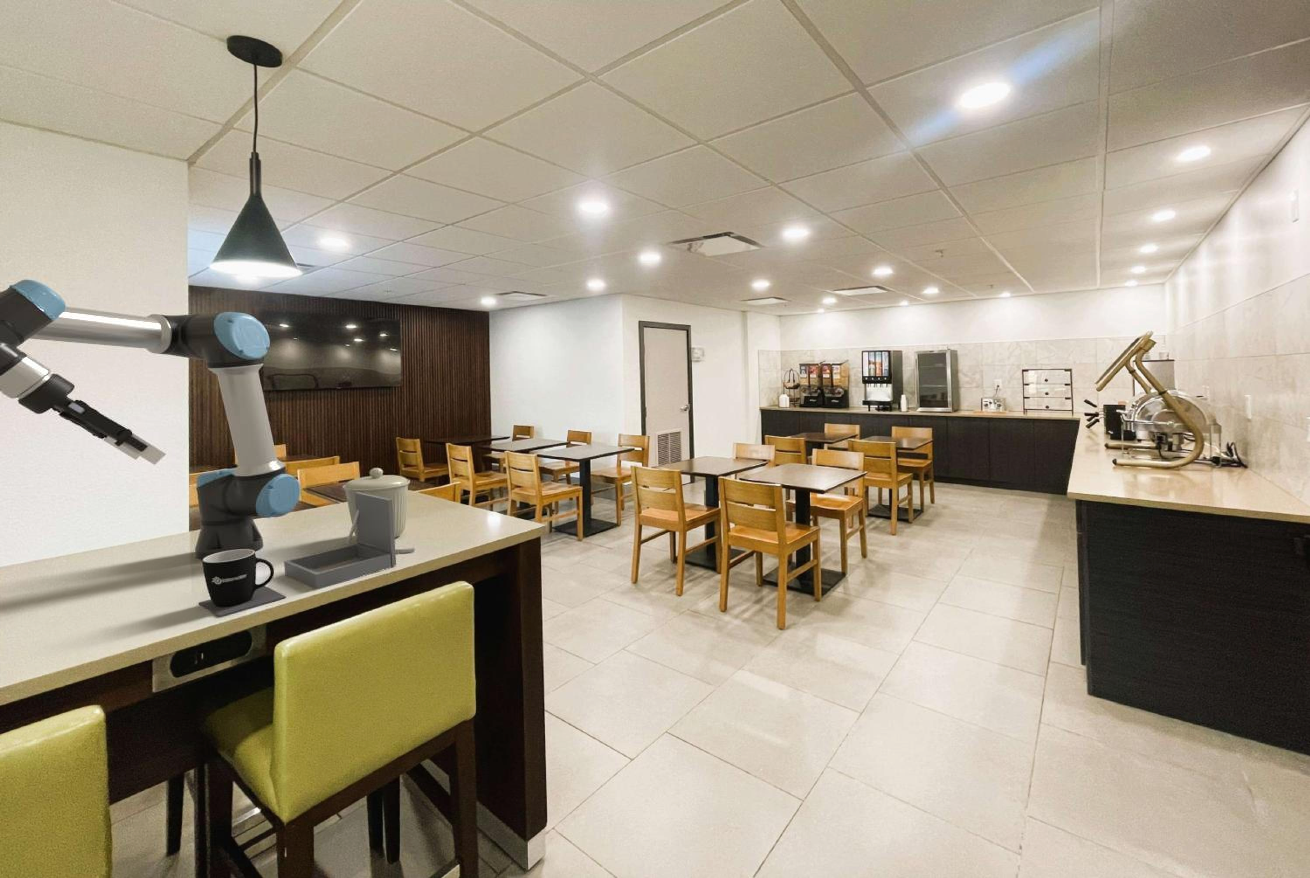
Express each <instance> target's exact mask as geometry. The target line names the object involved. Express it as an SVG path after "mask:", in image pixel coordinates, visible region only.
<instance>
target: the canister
mask: <svg viewBox="0 0 1310 878" xmlns="http://www.w3.org/2000/svg"><path fill="white" fill-rule="evenodd" d="M383 473H384V470H383V469H382V468H380V467H374V468H372V469H370V470H369V476H362V477H357V478H354V479H351V480H349V481H348V482H347V483H346V484H344V485H343V486H342V489H343V490H344V491H345V495H346V502H347V506H348V511H349V516H350V521H351V526H352V525H353V522H354V519H355V515H356V506H355V493H356V492H360V493H365V494H369V495H374V496H379V497H383V498H388V499H392V506H393V522H394V538H397V537H399V536H401V535H402V534H403V532H404V530H405V528H406V520H407V510H408V509H407V508H408V493H409V492H408V491H409V490H408V488H409V484H410V483H411V480H410V479H408V478H406V477H404V476H401V475H393V474H391V475H390V474H387V475H385V474H383ZM353 534H354V535H355V537H356V538H357V539H358V534H357V523H356V526H355V529H354V532H353Z"/></svg>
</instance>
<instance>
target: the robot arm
mask: <svg viewBox="0 0 1310 878" xmlns="http://www.w3.org/2000/svg"><path fill="white" fill-rule="evenodd" d="M265 327H266V326H264V325H263V323H262V322H261V321H260V320H258V319H257V318H256V317H254V316H253V315H251V314H247V313H244V312H235V311H234V312H233V311H225V312H212V313H211V312H210V313H192V314H191V313H190V314H181V315H180V314H179V315H178V314H176V315H175V314H173V315H171V314H170V315H164V314H158V313H153V314H149V315H147V316H141V315H134V314H132V315H131V314H125V313H116V312H112V311H111V312H110V311H103V310H97V309H96V310H95V309H87V308H81V307H71V306H66V302H65V300H64V299H63V298H62V297H61V296H60V295H59V294H58V293H57V292H56V291H55V290H53V289H52V288H50V287H49V286H47V285H46V284H44V283H42V282H39V281H36V280H34V279H33V280H32V279H21V280H20V281H18V282H16V283H14V284H10V285H9V286H8V287H7V288H6V289H5V290H3V291H0V392H1V394H3V395H5V396H6V397H7V398H10V399H16V398H17V402H18V404H19V405H21V406H22V407H24V408H25V409H28V410H29V411H31V412H32V413H34V414H37V415H41V414H44V413H46V412H49V411H50V410H53V412H57V413H58V416H59V417H61V418H63V419H64V420H67V421H69V422H70V423H72V424H74V425H76V426H79V427H80V428H82V429H84V430H85V431H87V432H88V433H90V434H91V435H92V436H94V437H97V438H99V439H100V440H103V442H105V443H107V444H108V445H110V446H112V447H114V448H116V449H117V450H119V451H120V452H122V453H124V454H125V455H127V456H129V457H130V458H132V459H134V460H137V459H138V458H139V457H141V458H143V459H144V460H146V461H147V462H149V463H151V464H152V465H155V466H156V464H157V463H159V462H160V460H162V459H163V457H165V456H166V453H165V452H163V451H162V450H160V449H159V448H157V447H156V446H154V445H152V444H151V443H149V442H147V441H146V440H144V439H143V438H141V437H140V436H138V435H136V434H135V433H133V431H132V429H130V428H126V427H125V426H124V425H121V424H120V423H118V422H116V421H114V420H113V419H111V418H109V417H107V416H106V415H104V414H102V413H101V412H100V411H98V410H97V409H95V408H94V407H91V406H90V405H89V404H88V403H86V401H83V400H81V399H79V400H78V399H75V400H74V399H72V398H70V397H68V395H70V394H71V393H72V392H73V391H74V390H75V388H76V386H75V384H74V383H72V382H71V381H69V380H67V379H66V378H64V377H63V376H61V375H60V374H58V373H51V372H52V370H51V368H50V367H48V366H46V365H45V364H43V363H42V362H40V361H38V360H37V359H35V358H33V357H32V356H30V355H29V354H27V353H25V352H24V351H22V350H20V349H19V348H18V347H20V346H21V345H22V344H24V342H26V341H28V340H40V341H41V340H42V341H43V340H44V341H52V342H63V343H64V342H65V343H66V342H67V343H75V344H87V345H88V344H90V345H99V346H109V347H110V346H111V347H124V348H137V349H146V350H147V351H148V352H149V353H152V354H154V355H155V354H156V355H157V354H158V355H168V356H175V357H180V358H188V359H192V360H193V359H194V360H203V361H205V362H206V367H207V369H208V370H209V371H210V372H212V373H213V374H215V376H216V377H217V379H218V384H219V389H220V394H221V397H222V401H223V405H224V411H225V414H226V419H227V423H228V426H229V432H230V435H231V439H232V440H231V441H232V444H233V448H234V453H235V457H236V461H237V467H233V468H232V467H231V468H227V469H220V470H213V471H208V472H203V473H200V474H198V476H197V477H196V488H195V489H196V492H197V495H196V496H197V502H198V509H199V510H198V511H199V519H200V531H199V534H198V538H197V541H196V544H195V547H194V550H195V553H194V554H195V558H196V559H200V560H201V559H202V560H203V559H204V558H205V557H207V556H209V555H212V554H215V553H219V552H224V551H229V550H238V549H250V550H254V551H255V552H257V551H259V550H261V549H262V548H263V547H264V539H263V536H262V535H261V533H260V531H259V528H258V527H257V525H256V522H255V521H254V517H257V518H264V519H270V518H281V517H283V516H286V515H287V514H288V513H290V512H292V511H293V510H294V509H295V507H296V505H297V503H299V500H300V497H301V489H302V488H301V485H300V482H299V480H298V479H297V478H296V477H294V476H293V475H291V474H288V472H287V469H286V464H285V462H283V461H281V460H279V459H278V458H277V452H276V448H275V444H274V439H273V434H272V430H271V424H270V420H269V416H268V412H267V407H266V403H265V402H266V401H265V398H264V393H263V388H262V387H263V386H262V384H261V383H262V382H261V380H260V373H259V370H260V369H261V368H262V367H263V366H264V359H263V357H264V356H265V355H266V354H267V353H268V349H270V346H271V345H270V344H271V341H270V336H269V334H268V333H269V332H268V331H267V329H266V328H265Z"/></svg>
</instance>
